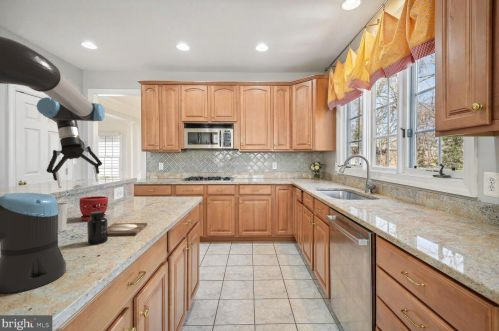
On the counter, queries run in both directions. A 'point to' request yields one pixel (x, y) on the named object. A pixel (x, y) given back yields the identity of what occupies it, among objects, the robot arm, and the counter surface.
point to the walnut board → (125, 229)
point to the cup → (62, 215)
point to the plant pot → (92, 205)
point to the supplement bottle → (97, 228)
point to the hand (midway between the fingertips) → (79, 184)
